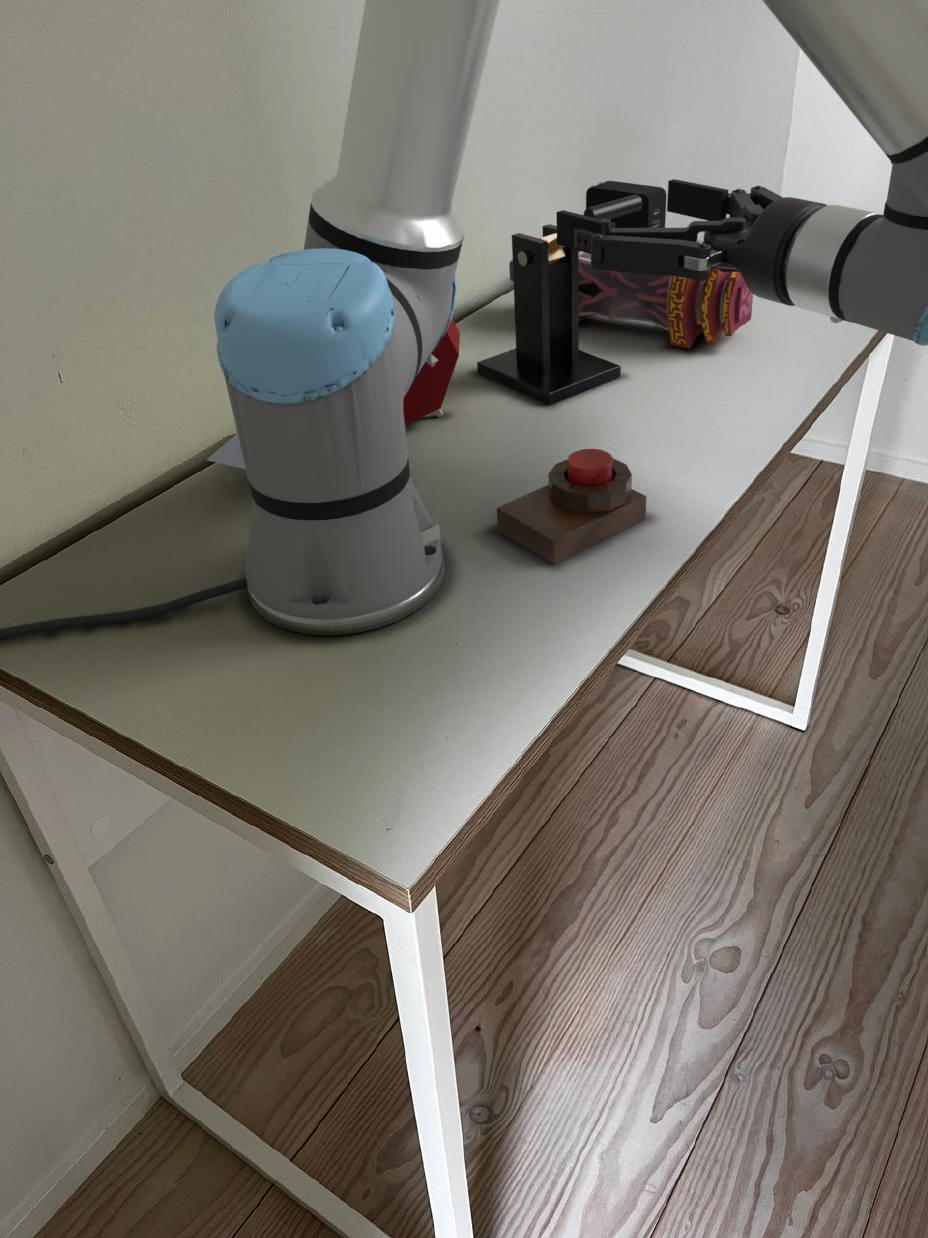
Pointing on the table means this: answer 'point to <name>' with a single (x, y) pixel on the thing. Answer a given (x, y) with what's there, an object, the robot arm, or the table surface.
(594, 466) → the light button
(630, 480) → the switch block
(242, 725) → the table surface
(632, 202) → the light lever
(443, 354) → the alarm clock
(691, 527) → the table surface
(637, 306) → the red patterned flared cylinder
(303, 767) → the table surface
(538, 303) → the switch bracket
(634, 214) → the electronic device
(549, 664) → the table surface
